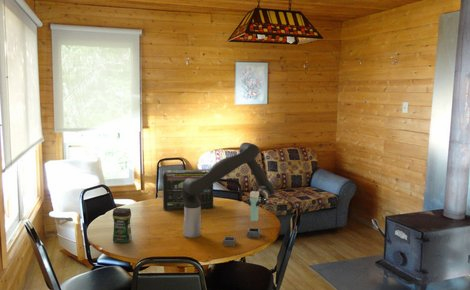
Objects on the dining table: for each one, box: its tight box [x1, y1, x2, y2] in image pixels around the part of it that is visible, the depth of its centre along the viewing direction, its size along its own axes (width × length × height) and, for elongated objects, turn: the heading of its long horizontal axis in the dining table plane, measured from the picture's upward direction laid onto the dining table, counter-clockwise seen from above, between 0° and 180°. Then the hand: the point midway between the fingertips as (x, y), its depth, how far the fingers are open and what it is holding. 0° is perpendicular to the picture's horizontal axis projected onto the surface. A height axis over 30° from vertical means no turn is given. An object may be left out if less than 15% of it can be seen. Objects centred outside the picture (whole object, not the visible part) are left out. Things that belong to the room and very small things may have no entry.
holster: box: [222, 235, 237, 248], centre depth 227 cm, size 6×6×3 cm
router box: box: [162, 168, 214, 211], centre depth 295 cm, size 36×11×27 cm, turn 99°
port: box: [246, 227, 261, 239], centre depth 240 cm, size 7×7×4 cm
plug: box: [249, 186, 259, 222], centre depth 238 cm, size 4×4×20 cm
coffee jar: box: [112, 207, 133, 244], centre depth 229 cm, size 10×8×19 cm
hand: (253, 204), depth 235 cm, fingers closed on plug, 3 cm apart
